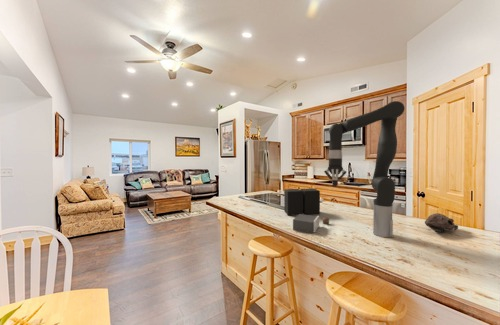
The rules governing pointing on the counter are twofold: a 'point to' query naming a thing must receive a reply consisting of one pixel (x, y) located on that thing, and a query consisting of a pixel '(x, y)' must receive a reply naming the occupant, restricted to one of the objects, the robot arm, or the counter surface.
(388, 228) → the robot arm
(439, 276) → the counter surface
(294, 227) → the cylinder
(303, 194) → the speaker
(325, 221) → the brown rounded cylinder
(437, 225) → the brown toy animal
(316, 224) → the drawer
